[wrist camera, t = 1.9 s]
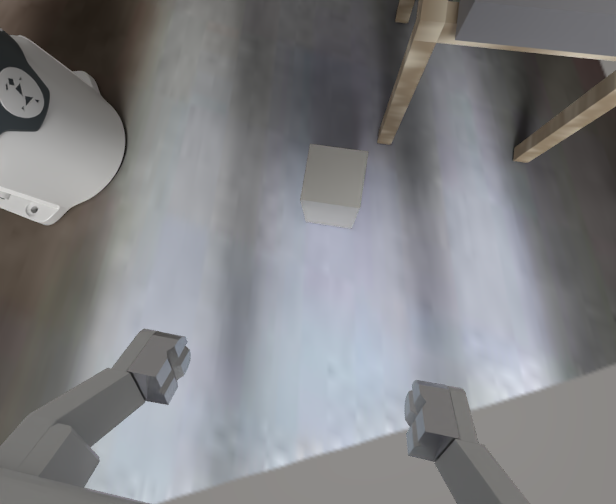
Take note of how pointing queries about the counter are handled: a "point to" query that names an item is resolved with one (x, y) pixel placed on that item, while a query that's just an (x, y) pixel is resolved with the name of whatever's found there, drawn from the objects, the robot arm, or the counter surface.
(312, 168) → the stone
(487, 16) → the trapdoor
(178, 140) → the counter surface
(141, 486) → the counter surface
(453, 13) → the frame
